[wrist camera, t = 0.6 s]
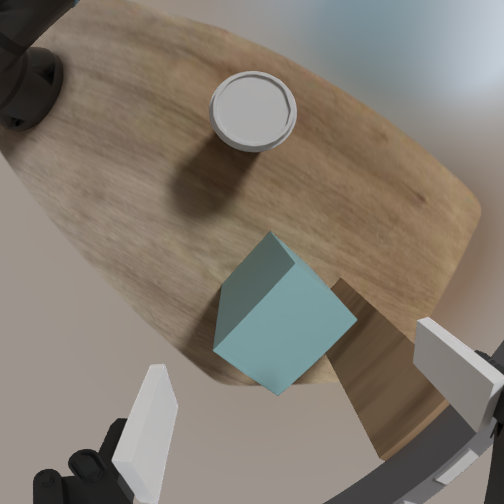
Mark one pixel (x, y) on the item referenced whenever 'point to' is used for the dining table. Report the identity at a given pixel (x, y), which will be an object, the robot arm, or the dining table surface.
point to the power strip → (424, 461)
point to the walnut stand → (382, 377)
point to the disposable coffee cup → (252, 111)
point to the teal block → (277, 316)
